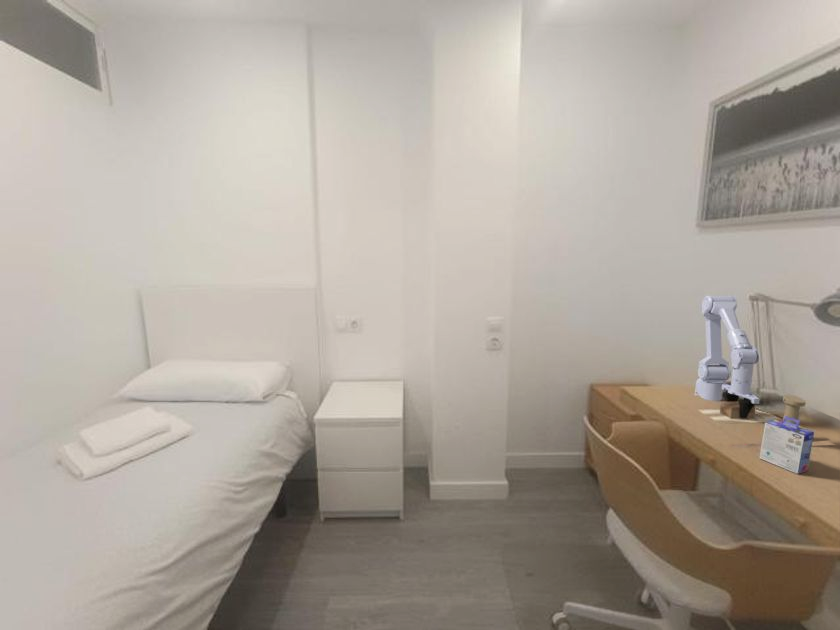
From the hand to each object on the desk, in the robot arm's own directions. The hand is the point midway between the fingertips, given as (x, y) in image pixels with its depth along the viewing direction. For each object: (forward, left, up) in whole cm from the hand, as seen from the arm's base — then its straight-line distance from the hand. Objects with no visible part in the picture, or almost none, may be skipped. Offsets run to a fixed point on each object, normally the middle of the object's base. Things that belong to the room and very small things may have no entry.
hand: (737, 414), depth 149 cm
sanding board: (0, +1, -2) cm, 2 cm away
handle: (+17, +3, -2) cm, 17 cm away
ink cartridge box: (+30, -11, -2) cm, 32 cm away
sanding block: (0, 0, 0) cm, 0 cm away
